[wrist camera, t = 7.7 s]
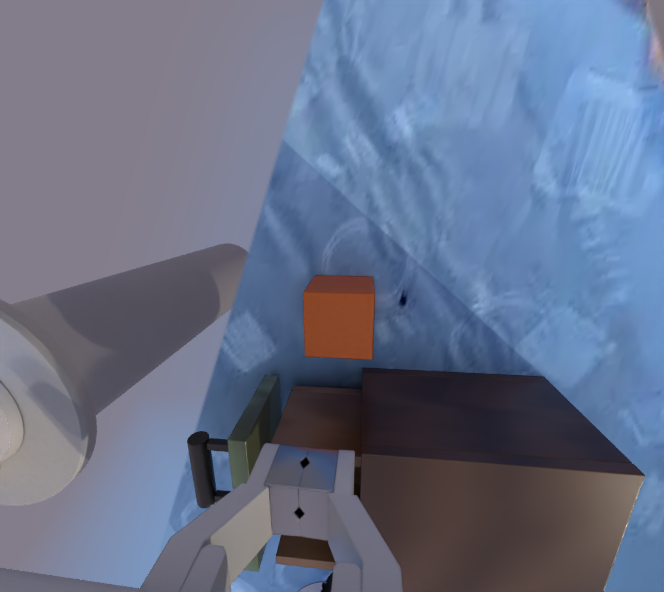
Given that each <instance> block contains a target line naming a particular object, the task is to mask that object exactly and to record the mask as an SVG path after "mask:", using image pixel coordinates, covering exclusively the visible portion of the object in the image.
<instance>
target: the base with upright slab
mask: <svg viewBox="0 0 664 592" xmlns="http://www.w3.org/2000/svg"><path fill="white" fill-rule="evenodd" d="M322 583H326V582H319V583H314V584H310V585H308V586H306V587H304V588H303V589H301V590H300V591H299V592H321V590H322Z"/></svg>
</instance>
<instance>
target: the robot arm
mask: <svg viewBox="0 0 664 592" xmlns="http://www.w3.org/2000/svg"><path fill="white" fill-rule="evenodd" d="M23 434H24V429H23V421H22V417H21V414H20V411H19V409H18V407H17V405H16V403H15V401H14V399H13V398H12V396H11V395H10V393H9V392H8V391H7V389H6V388H5V387H4V386H3V384H2V383H1V382H0V468H1V465H2V463H3V462H4V461H5V460H7V459H9V458H10V457H12V456H13V455H14V454H15V453H16V452H17V451H18V449H19V448H20V446H21V444H22V440H23ZM354 462H355V452H354V451H351V450H335V449H323V448H309V447H300V446H292V445H283V444H280V445H279V444H271V443H265V444H264V446H263V447H262V449H261V452H260V454H259V456H258V458H257V461H256V463H255V465H254V467H253V470H252V472H251V474H250V476H249V479H248V481H247V483H246V484H244V483H241V484H240V485H239V486H238V487H236V488H235V489H234V490H232V491H231V492H230V493H228V494H227V495H226V496H224V497H223V498H222V499H220V500H219V501H218V502H217V503H215V504H214V505H213V506H211V507H210V508H209V509H207V510H206V511H205V512H203V513H202V514H201V515H199V516H198V517H197V518H196V519H194V520H193V521H192V522H190V523H189V524H188V525H186V526H185V527H184V528H182V529H181V530H180V531H178V532H177V533H176V534H175V535H173V536H172V537H171V538H170V539H169V541H168V543H167V544H166V546H165V548H164V549H163V551H162V553H161V554H160V556H159V558H158V559H157V561H156V563H155V564H154V566H153V568H152V569H151V571H150V573H149V574H148V576H147V578H146V580H145V581H144V583H143V584H142V586H141V588H140V589H139V588H132V587H126V586H119V585H112V584H105V583H99V582H91V581H85V580H79V579H72V578H65V577H59V576H52V575H45V574H38V573H32V572H25V571H18V570H12V569H5V568H0V592H231V584H232V583H233V582H234V580H235V579H236V578H237V577H238V576H239V574H240V573H241V572H242V571H243V570H244V569H245V567H246V566H247V565H248V564H249V563H250V562H251V560H252V559H253V558H254V557H255V556H256V554H257V553H258V552H259V551H260V550H261V549H262V547H263V546H264V545H265V544H266V543H267V542H268V540H269V539H270V538H271V537H272V534H277V535H288V536H300V537H306V538H313V539H319V540H326V541H328V544H329V546H330V549H331V552H332V554H333V557H334V560H335V562H336V565H335V566H334V569H333V578H332V587H331V592H403V589H402V577H401V567H400V566H399V564H398V562H397V561H396V559H395V557H394V556H393V554H392V552H391V551H390V549H389V548H388V546H387V544H386V543H385V541H384V539H383V538H382V536H381V534H380V533H379V531H378V529H377V528H376V526H375V524H374V523H373V521H372V519H371V518H370V516H369V515H368V513H367V511H366V510H365V508H364V506H363V505H362V503H361V501H360V500H359V498H358V496H357V495H354Z"/></svg>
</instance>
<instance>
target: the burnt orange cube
mask: <svg viewBox="0 0 664 592" xmlns="http://www.w3.org/2000/svg"><path fill="white" fill-rule="evenodd" d="M374 308H375V290H374V281H373V277H371V276H322V275H315V276H314V278H313V279H312V281H311V282H310V284H309V285H308V286H307V288H306V289H305V291H304V292H303V309H304V343H305V356H306V357H324V358H346V359H367V360H372V359H373V334H374Z"/></svg>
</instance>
